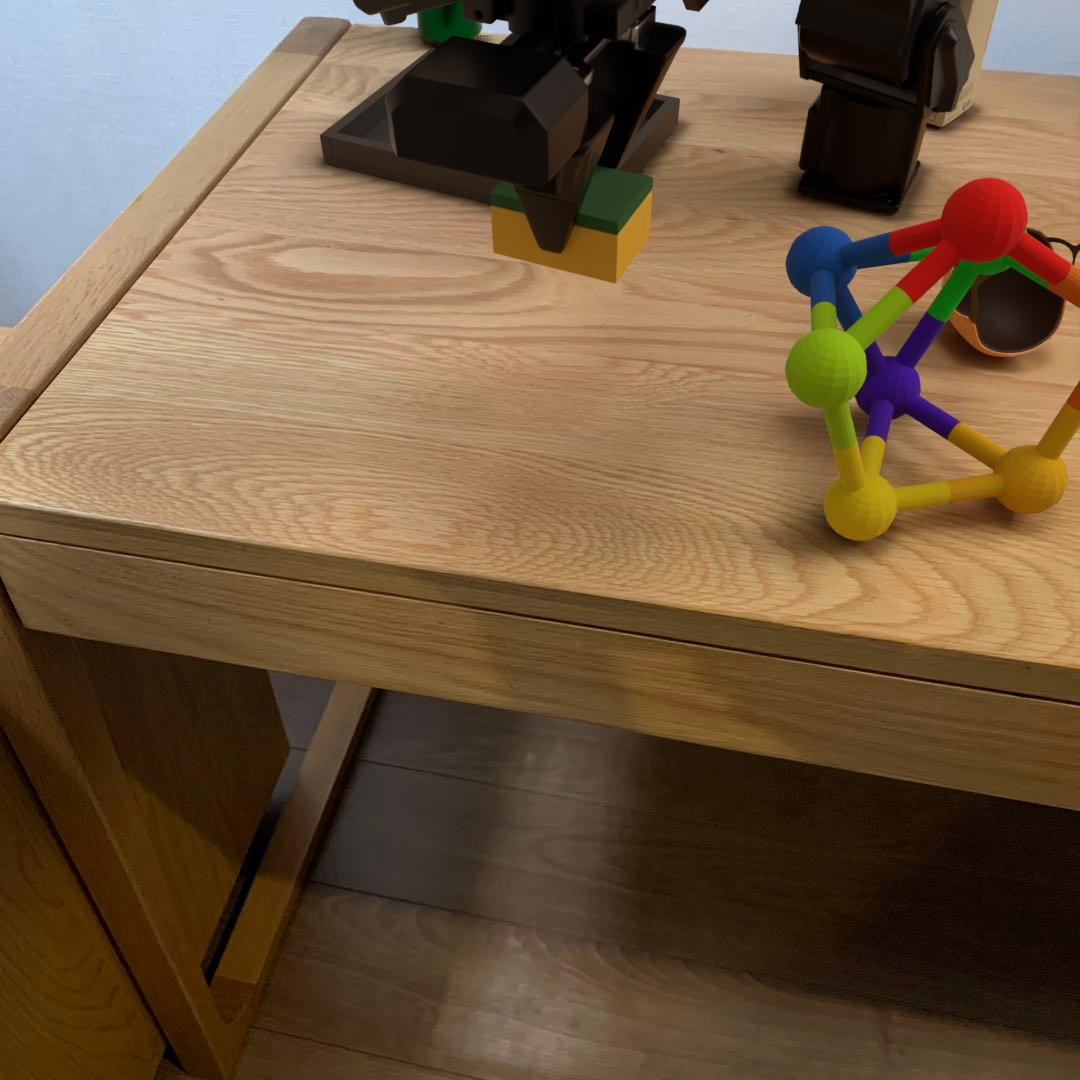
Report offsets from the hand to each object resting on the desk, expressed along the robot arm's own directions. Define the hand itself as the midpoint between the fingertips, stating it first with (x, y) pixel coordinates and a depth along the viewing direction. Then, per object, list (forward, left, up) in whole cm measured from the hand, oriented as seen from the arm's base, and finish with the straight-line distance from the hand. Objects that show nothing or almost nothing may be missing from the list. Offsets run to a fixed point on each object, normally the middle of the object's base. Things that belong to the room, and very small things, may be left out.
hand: (572, 224), depth 48 cm
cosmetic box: (-9, -39, -10) cm, 41 cm away
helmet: (-20, -10, -3) cm, 22 cm away
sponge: (0, 0, -1) cm, 1 cm away
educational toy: (-15, -1, -10) cm, 18 cm away
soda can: (+27, -36, -10) cm, 46 cm away
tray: (+15, -22, -10) cm, 28 cm away
